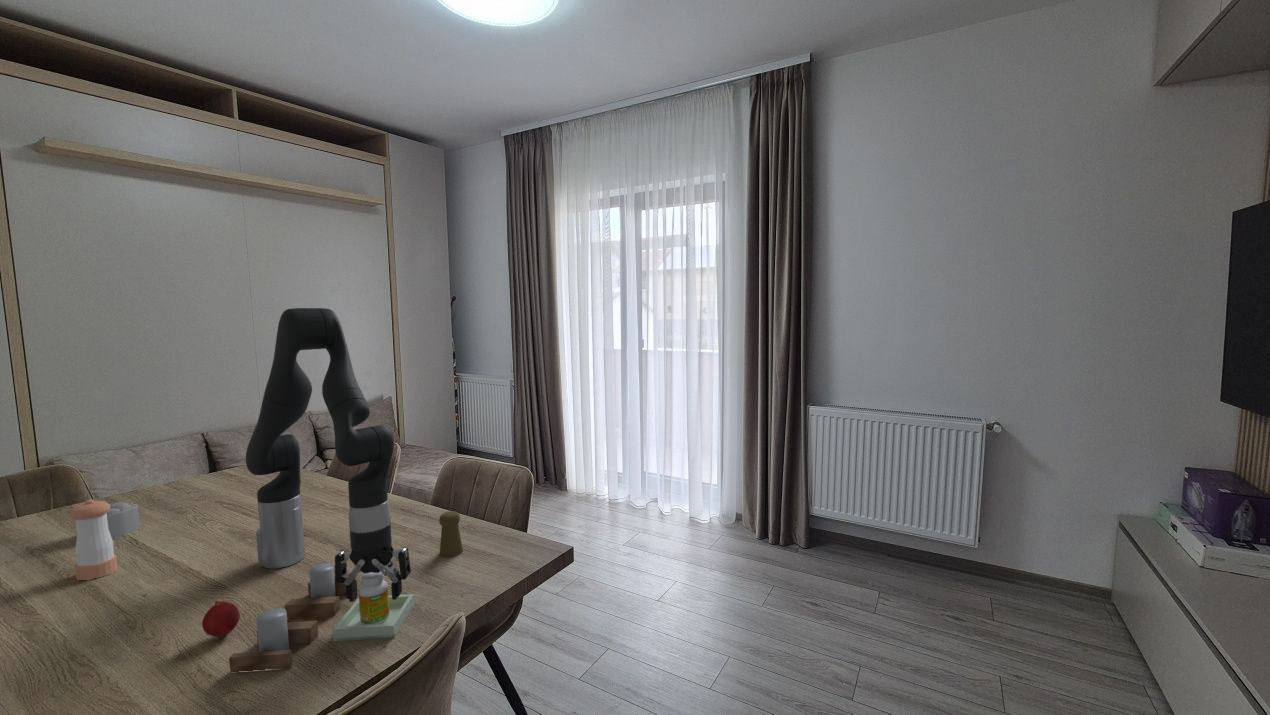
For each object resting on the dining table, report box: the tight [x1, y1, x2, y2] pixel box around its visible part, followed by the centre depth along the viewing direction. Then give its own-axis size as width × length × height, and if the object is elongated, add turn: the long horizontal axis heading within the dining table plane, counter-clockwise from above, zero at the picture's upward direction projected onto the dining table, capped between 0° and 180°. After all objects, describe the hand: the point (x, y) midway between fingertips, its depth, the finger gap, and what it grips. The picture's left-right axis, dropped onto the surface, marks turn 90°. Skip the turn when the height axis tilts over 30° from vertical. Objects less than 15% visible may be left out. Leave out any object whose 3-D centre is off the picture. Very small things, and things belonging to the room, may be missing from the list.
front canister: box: [255, 608, 290, 652], centre depth 98 cm, size 5×5×8 cm
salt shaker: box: [69, 499, 118, 581], centre depth 130 cm, size 7×7×19 cm
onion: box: [201, 598, 241, 639], centre depth 104 cm, size 6×6×8 cm
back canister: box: [309, 562, 337, 598], centre depth 115 cm, size 5×5×8 cm
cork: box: [438, 510, 464, 559], centre depth 139 cm, size 6×6×11 cm
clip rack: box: [228, 578, 357, 672], centre depth 107 cm, size 10×27×3 cm, turn 4°
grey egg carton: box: [74, 501, 141, 539], centre depth 155 cm, size 10×13×9 cm
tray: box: [332, 593, 415, 642], centre depth 108 cm, size 12×12×2 cm
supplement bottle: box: [358, 571, 389, 625], centre depth 108 cm, size 5×5×10 cm
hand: (374, 598), depth 108 cm, fingers open, 8 cm apart
